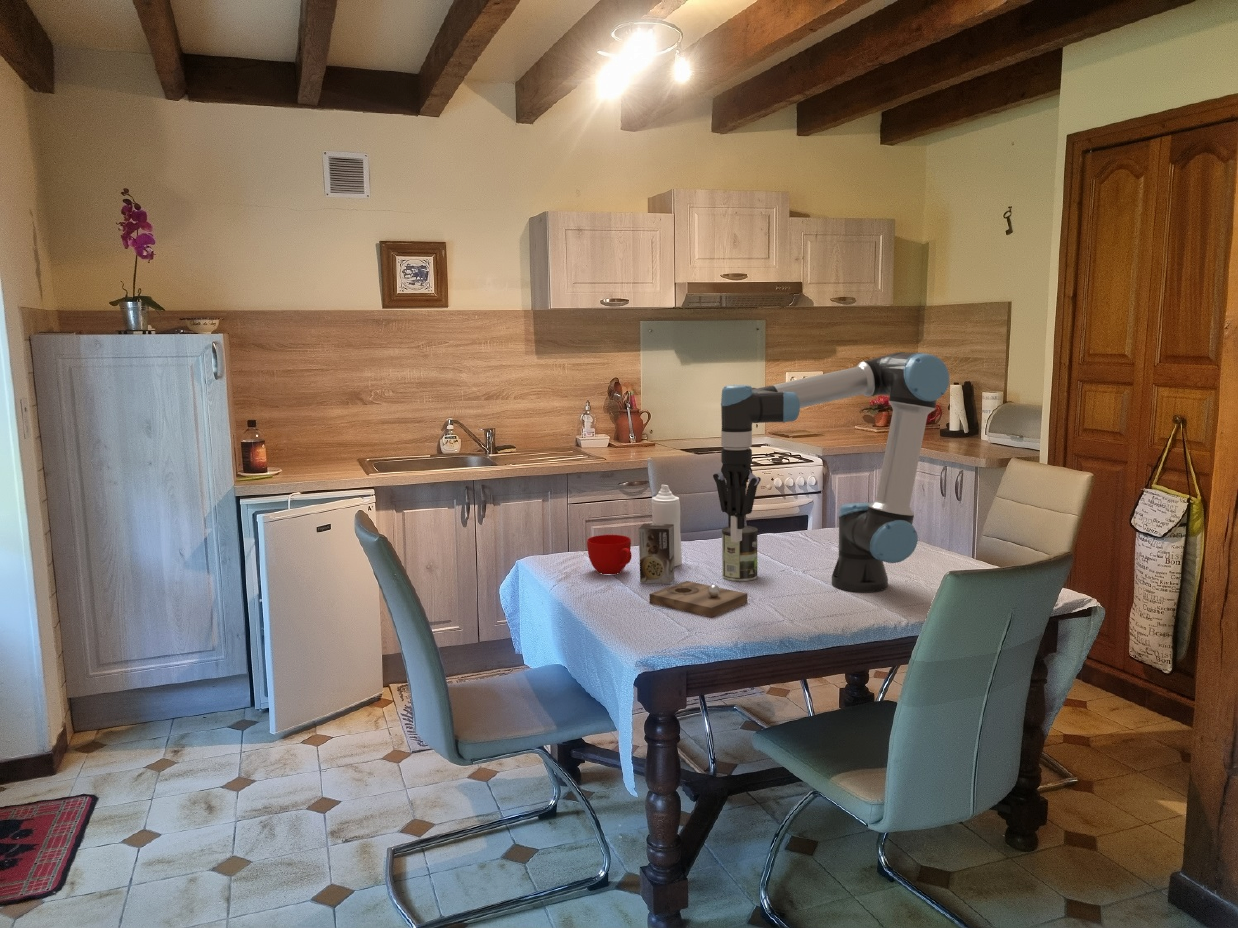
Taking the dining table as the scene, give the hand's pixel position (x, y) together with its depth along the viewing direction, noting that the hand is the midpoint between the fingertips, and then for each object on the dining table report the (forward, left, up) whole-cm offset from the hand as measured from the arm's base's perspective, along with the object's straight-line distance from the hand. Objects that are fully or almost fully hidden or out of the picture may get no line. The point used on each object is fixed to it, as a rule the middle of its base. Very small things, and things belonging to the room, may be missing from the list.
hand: (736, 540), depth 236 cm
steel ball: (+7, 0, -14) cm, 16 cm away
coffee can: (+18, -28, -19) cm, 38 cm away
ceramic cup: (+49, -8, -19) cm, 53 cm away
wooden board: (+12, 0, -18) cm, 22 cm away
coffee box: (+34, -10, -19) cm, 40 cm away
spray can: (+43, -26, -19) cm, 54 cm away
